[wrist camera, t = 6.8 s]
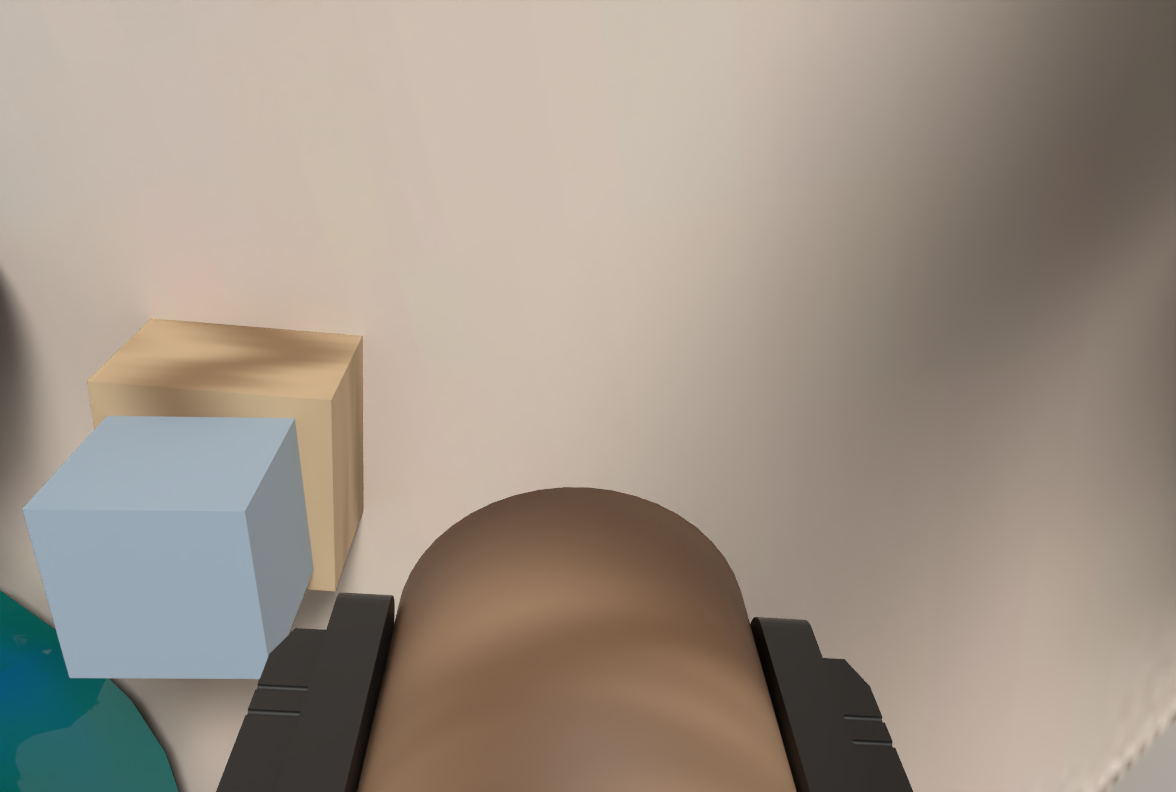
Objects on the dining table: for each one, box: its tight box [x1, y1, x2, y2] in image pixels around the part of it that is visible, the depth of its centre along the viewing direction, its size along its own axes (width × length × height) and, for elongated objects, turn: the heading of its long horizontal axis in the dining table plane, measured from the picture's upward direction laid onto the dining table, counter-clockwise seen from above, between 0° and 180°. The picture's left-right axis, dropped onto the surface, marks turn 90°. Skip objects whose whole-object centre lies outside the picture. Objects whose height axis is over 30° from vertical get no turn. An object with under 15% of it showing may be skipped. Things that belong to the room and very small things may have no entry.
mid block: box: [22, 416, 314, 679], centre depth 28 cm, size 6×6×5 cm
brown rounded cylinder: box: [357, 487, 797, 792], centre depth 12 cm, size 5×5×5 cm
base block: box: [87, 319, 363, 591], centre depth 32 cm, size 7×7×5 cm
